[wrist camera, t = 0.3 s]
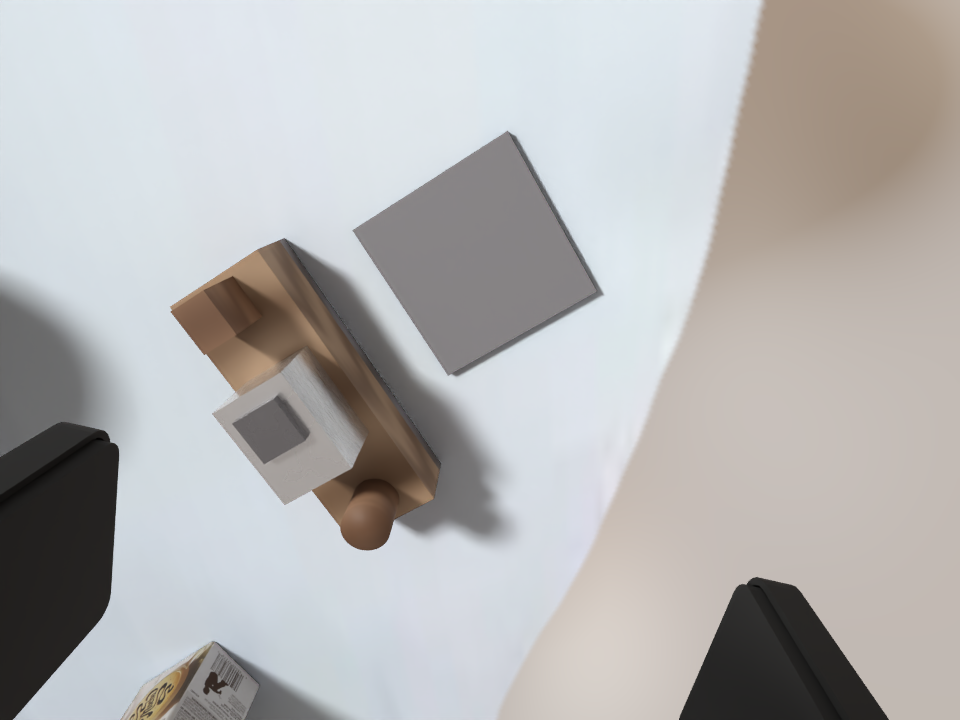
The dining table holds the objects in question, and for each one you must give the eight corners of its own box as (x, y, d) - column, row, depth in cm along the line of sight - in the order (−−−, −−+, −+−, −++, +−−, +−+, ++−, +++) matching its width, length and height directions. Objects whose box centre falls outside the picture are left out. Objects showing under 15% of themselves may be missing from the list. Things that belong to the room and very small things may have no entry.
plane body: (205, 289, 44) (134, 324, 35) (284, 238, 43) (229, 261, 34) (366, 503, 49) (337, 578, 41) (440, 463, 48) (427, 532, 39)
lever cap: (245, 382, 41) (207, 417, 35) (306, 345, 40) (276, 376, 34) (308, 465, 43) (281, 510, 37) (369, 431, 42) (349, 473, 36)
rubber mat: (354, 229, 42) (352, 230, 42) (507, 131, 40) (507, 131, 39) (448, 372, 45) (448, 375, 45) (595, 289, 43) (597, 291, 42)
